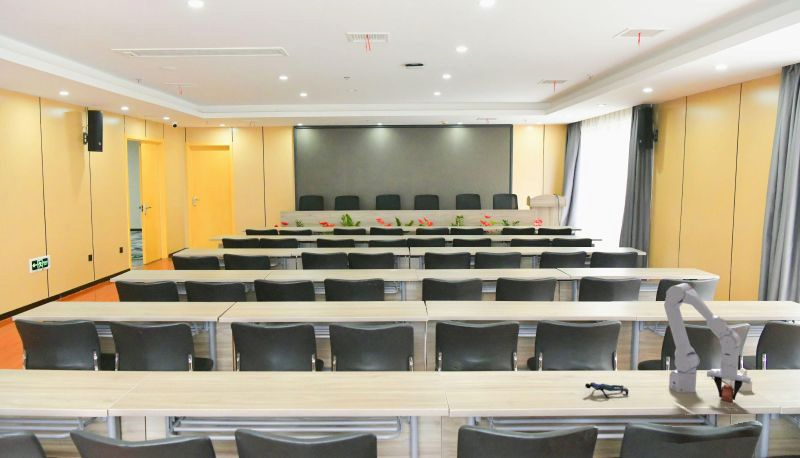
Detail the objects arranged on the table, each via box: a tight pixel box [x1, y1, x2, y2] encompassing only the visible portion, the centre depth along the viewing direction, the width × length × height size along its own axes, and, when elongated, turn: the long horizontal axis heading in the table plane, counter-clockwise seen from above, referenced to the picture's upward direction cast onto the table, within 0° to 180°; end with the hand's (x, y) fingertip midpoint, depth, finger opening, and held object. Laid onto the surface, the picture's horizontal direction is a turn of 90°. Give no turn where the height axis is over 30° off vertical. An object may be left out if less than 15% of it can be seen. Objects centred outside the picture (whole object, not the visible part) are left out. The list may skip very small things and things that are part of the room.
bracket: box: [710, 367, 748, 386], centre depth 238 cm, size 13×7×8 cm, turn 4°
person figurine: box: [585, 382, 629, 400], centre depth 224 cm, size 11×4×18 cm
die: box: [731, 380, 753, 392], centre depth 228 cm, size 5×5×5 cm
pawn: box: [721, 383, 734, 404], centre depth 215 cm, size 4×4×6 cm
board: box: [718, 393, 735, 405], centre depth 220 cm, size 15×6×1 cm, turn 147°
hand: (727, 397), depth 216 cm, fingers closed on pawn, 4 cm apart
